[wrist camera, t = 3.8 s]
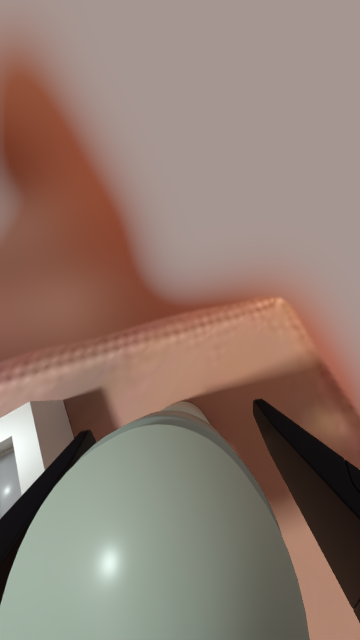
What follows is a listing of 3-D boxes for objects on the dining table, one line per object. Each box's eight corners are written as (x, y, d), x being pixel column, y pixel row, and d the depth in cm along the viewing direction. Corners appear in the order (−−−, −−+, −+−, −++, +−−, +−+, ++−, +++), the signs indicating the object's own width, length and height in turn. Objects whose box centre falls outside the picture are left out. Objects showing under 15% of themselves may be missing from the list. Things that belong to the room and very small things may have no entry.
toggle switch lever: (217, 416, 14) (351, 526, 2) (194, 472, 13) (245, 1334, 1) (173, 390, 15) (116, 378, 3) (147, 439, 14) (-96, 708, 2)
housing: (95, 512, 12) (62, 554, 9) (-31, 604, 11) (-122, 691, 8) (62, 399, 16) (29, 401, 12) (-40, 460, 14) (-107, 479, 11)
